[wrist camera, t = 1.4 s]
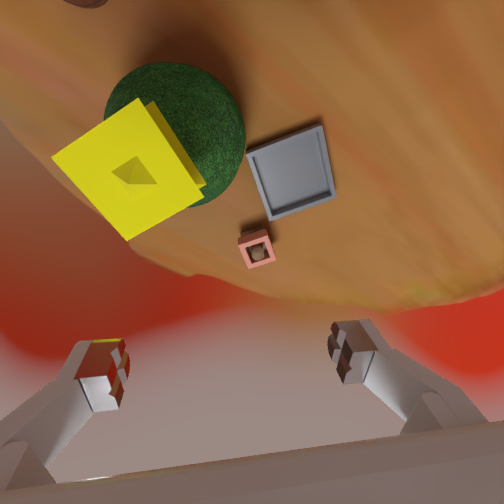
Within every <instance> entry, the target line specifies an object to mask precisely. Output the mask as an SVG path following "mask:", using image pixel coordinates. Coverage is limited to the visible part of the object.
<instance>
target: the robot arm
mask: <svg viewBox="0 0 504 504" xmlns="http://www.w3.org/2000/svg"><path fill="white" fill-rule="evenodd" d="M331 331H332V334H331V335H330V336H329V337H328V341H327V346H328V352H329V355H330V357H331V359H332V361H334V362H335V363H336V364H337V368H336V370H337V373H338V375H339V377H340V379H341V381H342V383H343V384H353V383H364V385H366V386H367V387H368V388H369V389H370V390H371V391H372V392H373V393H374V394H376V395H377V396H378V397H379V398H380V399H381V400H382V401H383V402H384V403H386V404H387V405H388V406H389V407H390V408H391V409H392V410H393V411H395V412H396V413H397V414H398V415H399V416H400V417H401V418H402V419H403V420H405V421H406V423H405V425H404V427H403V429H402V430H401V433H400V435H397V436H389V437H382V438H376V439H368V440H362V441H354V442H347V443H340V444H333V445H326V446H318V447H312V448H304V449H297V450H290V451H282V452H276V453H269V454H262V455H254V456H248V457H240V458H234V459H226V460H219V461H212V462H205V463H197V464H190V465H184V466H176V467H169V468H162V469H156V470H148V471H141V472H134V473H126V474H120V475H112V476H105V477H98V478H91V479H84V480H77V481H70V482H63V483H56V482H55V480H54V478H53V477H52V476H51V474H50V473H49V472H48V470H47V469H46V468H47V467H48V466H49V465H50V463H51V462H52V461H53V460H54V459H55V458H56V457H57V455H58V454H59V453H60V452H61V451H62V450H63V448H64V447H65V446H66V445H67V444H68V443H69V442H70V440H71V439H72V438H73V437H74V436H75V434H76V433H77V432H78V431H79V430H80V429H81V428H82V426H83V425H84V424H85V423H86V422H87V421H88V419H89V418H90V417H91V416H92V415H93V413H94V412H101V411H109V410H116V409H119V407H120V404H121V400H122V397H123V393H124V389H123V386H122V385H123V384H124V383H125V382H126V381H127V380H128V376H129V372H130V357H129V354H128V353H127V352H125V348H126V343H125V340H124V339H104V340H91V341H79V342H78V343H76V344H75V346H74V348H73V350H72V351H71V353H70V355H69V357H68V359H67V361H66V362H65V365H64V366H63V368H62V370H61V372H60V373H59V375H58V377H57V379H56V381H54V382H50V383H48V384H47V385H46V386H44V387H43V388H42V389H41V390H39V391H38V392H37V393H36V394H34V395H33V396H32V397H30V398H29V399H28V400H27V401H25V402H24V403H23V404H21V405H20V406H19V407H18V408H16V409H15V410H14V411H12V412H11V413H10V414H9V415H7V416H6V417H5V418H3V419H2V420H1V421H0V504H504V420H503V421H496V422H489V421H488V420H487V419H486V418H485V417H484V416H483V414H482V413H481V412H480V411H479V410H478V409H477V407H476V406H475V405H474V404H473V403H472V402H471V400H470V399H469V398H468V397H467V396H466V395H465V393H464V392H463V391H462V390H461V389H460V388H459V387H457V386H456V385H454V384H452V383H451V382H449V381H448V380H446V379H444V378H442V377H441V376H439V375H437V374H436V373H434V372H432V371H431V370H429V369H427V368H426V367H424V366H423V365H421V364H419V363H418V362H416V361H414V360H413V359H411V358H409V357H408V356H406V355H404V354H403V353H401V352H399V351H398V350H396V349H391V348H390V346H389V345H388V343H387V342H386V341H385V339H384V338H383V336H382V335H381V334H380V332H379V331H378V330H377V328H376V327H375V326H374V324H373V323H372V321H371V320H369V319H361V320H349V321H337V322H333V323H332V324H331Z"/></svg>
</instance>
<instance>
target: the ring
mask: <svg viewBox="0 0 504 504" xmlns="http://www.w3.org/2000/svg"><path fill="white" fill-rule="evenodd" d="M261 242H265V245H266V247H267V250H268V251H265V252H264V258H263V259H262V260H259V261H257V260H254V259H253V257H252V256H251V255H250V253H249V251H248V248H247V247H249V246H252V245H255V244H258V243H261ZM238 246H239V248H240V250H241V253H242V255H243V257H244V260H245V262H246V264H247V266H248V269H251V268H254V267H257V266H260V265H263V264H266V263H269V262H272V261H275V260H276V256H275V252H274V249H273V247H272V244H271V241H270V239H269V236H268V233H267V230H266V229H263V230H260V231H257V232H255V233H252V234H249V235H246V236H243V237H240V238H238Z"/></svg>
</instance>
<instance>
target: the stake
mask: <svg viewBox="0 0 504 504" xmlns="http://www.w3.org/2000/svg"><path fill="white" fill-rule="evenodd" d="M263 229H264V227H263V225H262V226H259V227H256V228H253V229H251V230H248V231H245V232H242V233H241V237H243V236H246V235H249V234H252V233H255V232H257V231H260V230H263ZM247 248H248V251H249V253H250V255H251V256H252V257H253V259H254V260H257V261H259V260H262V259H263V258H264V252H265V251H268V250H267V247H266V245H265V242H261V243H258V244H255V245H252V246H249V247H247Z"/></svg>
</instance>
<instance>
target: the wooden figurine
mask: <svg viewBox="0 0 504 504" xmlns="http://www.w3.org/2000/svg"><path fill="white" fill-rule="evenodd" d="M64 1H66V2H68V3H70V4H73V5H76V6H79V7H82V8H97V7H100V6H102V5H103V4H105V3H106V2H107V1H108V0H64Z"/></svg>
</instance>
